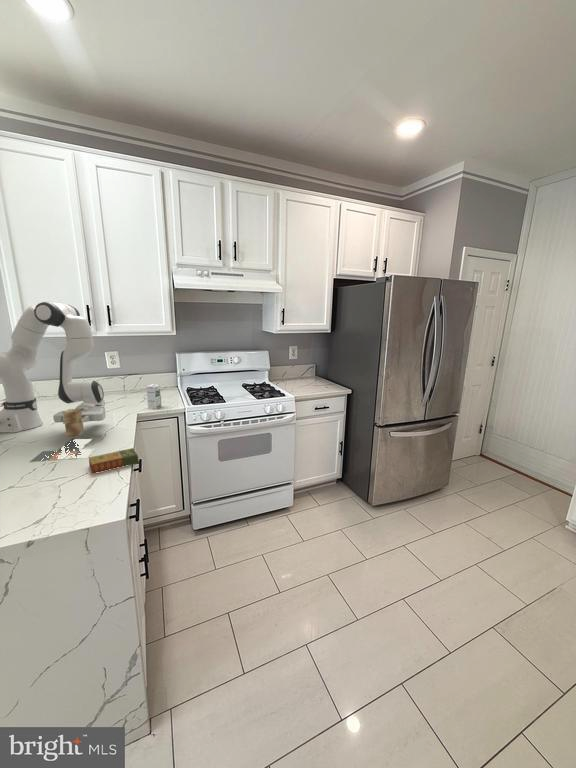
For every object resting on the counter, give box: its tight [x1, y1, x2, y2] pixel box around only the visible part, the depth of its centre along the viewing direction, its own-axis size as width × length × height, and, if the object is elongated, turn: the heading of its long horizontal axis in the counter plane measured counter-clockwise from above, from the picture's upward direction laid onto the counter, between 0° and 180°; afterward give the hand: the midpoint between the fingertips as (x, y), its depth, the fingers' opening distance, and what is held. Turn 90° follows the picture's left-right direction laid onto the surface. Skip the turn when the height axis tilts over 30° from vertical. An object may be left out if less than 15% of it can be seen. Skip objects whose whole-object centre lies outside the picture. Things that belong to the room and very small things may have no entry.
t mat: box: [29, 438, 81, 463], centre depth 138 cm, size 21×23×1 cm
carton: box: [88, 447, 140, 474], centre depth 124 cm, size 8×16×4 cm, turn 127°
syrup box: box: [145, 383, 162, 410], centre depth 197 cm, size 6×6×14 cm
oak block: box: [63, 408, 85, 437], centre depth 141 cm, size 5×5×11 cm
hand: (72, 421), depth 140 cm, fingers closed on oak block, 5 cm apart
